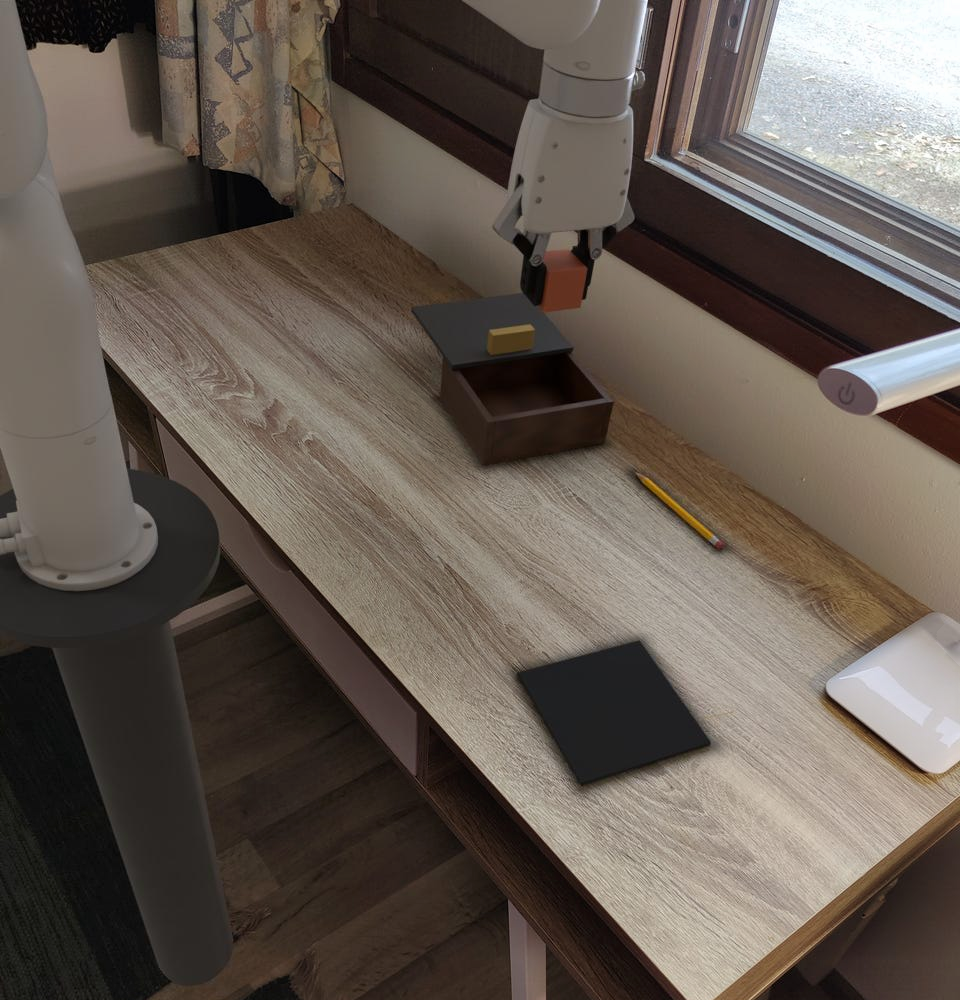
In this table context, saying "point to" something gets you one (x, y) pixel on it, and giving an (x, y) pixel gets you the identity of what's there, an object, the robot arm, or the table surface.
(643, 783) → the table surface
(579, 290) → the block
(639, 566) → the table surface
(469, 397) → the box
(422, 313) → the sliding lid
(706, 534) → the pencil
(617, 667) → the mat
